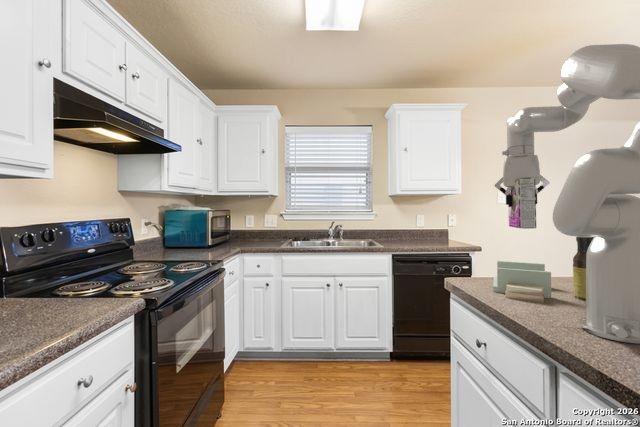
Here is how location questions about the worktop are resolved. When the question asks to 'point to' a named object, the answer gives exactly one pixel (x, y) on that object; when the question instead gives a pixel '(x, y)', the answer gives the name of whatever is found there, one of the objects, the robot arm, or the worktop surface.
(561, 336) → the worktop surface
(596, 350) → the worktop surface
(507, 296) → the birch offcut
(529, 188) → the candy bar box
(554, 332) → the worktop surface
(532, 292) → the ash offcut
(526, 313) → the worktop surface
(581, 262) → the sauce bottle
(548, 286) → the rack
